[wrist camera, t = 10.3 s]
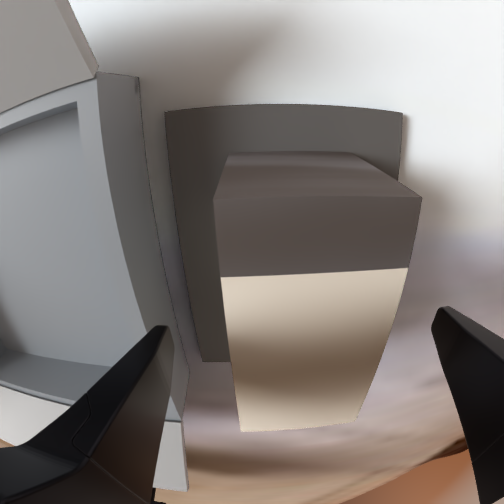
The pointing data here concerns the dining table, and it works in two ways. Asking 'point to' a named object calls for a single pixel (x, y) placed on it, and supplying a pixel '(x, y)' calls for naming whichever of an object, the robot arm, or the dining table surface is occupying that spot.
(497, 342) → the robot arm
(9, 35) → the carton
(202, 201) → the mat
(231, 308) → the block
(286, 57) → the dining table surface
